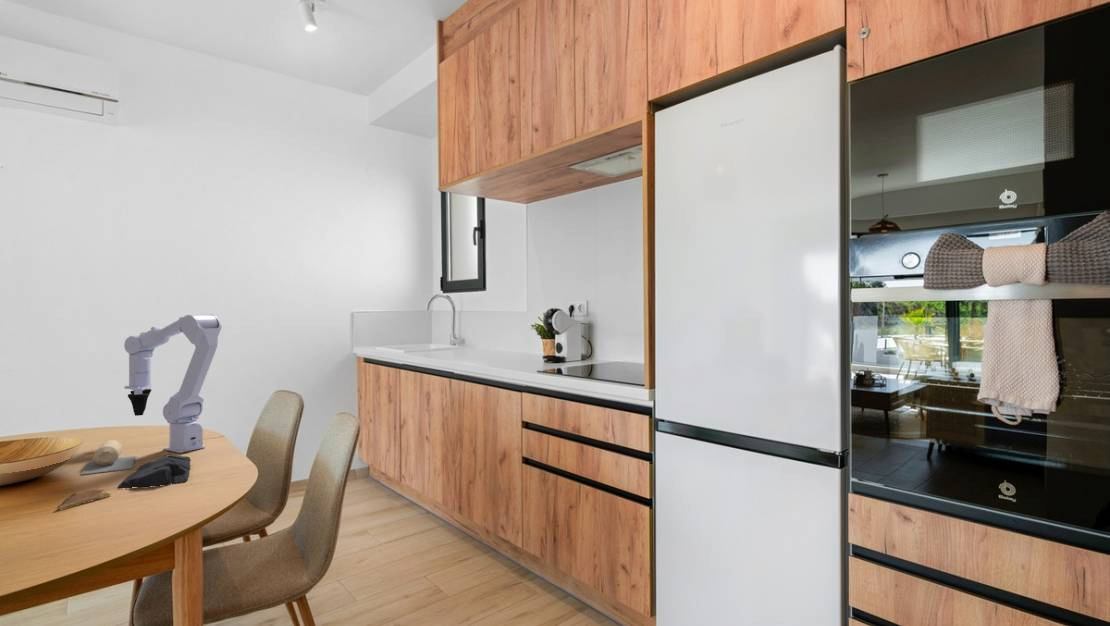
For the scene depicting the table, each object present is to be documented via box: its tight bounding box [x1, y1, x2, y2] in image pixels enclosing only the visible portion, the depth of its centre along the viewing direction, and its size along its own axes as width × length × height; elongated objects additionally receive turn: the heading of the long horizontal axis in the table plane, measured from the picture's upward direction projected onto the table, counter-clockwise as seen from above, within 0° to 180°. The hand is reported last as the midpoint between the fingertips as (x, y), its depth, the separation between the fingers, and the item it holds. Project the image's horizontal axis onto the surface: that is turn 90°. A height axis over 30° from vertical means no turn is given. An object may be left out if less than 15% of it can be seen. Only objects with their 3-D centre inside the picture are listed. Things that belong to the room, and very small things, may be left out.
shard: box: [56, 487, 112, 511], centre depth 130 cm, size 11×8×2 cm
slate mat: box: [80, 455, 137, 476], centre depth 158 cm, size 14×11×1 cm
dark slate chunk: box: [117, 454, 192, 488], centre depth 150 cm, size 15×22×5 cm
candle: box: [93, 439, 123, 466], centre depth 161 cm, size 6×6×10 cm
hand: (139, 413), depth 182 cm, fingers open, 7 cm apart
